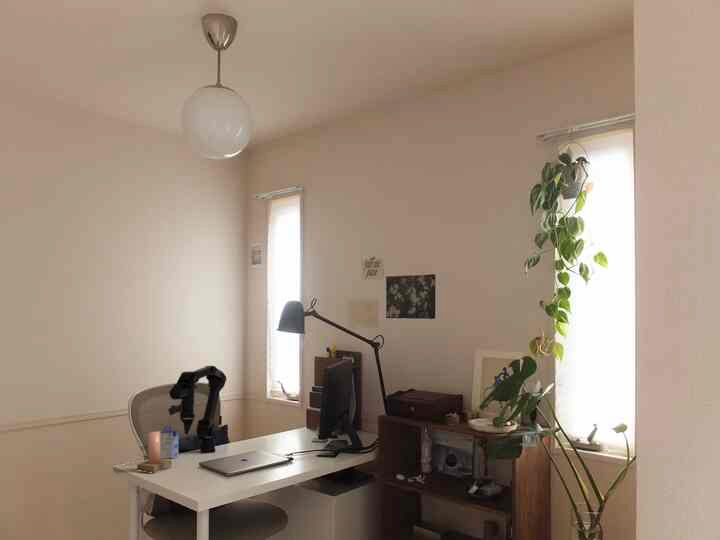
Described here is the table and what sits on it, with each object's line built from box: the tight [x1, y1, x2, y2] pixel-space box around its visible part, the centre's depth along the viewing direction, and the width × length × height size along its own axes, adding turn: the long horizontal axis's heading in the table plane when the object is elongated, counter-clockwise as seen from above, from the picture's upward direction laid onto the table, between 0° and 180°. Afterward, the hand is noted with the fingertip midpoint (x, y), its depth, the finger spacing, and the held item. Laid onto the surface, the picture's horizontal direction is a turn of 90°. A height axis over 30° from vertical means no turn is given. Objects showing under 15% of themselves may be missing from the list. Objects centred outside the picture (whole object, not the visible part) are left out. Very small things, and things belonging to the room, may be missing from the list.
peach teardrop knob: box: [147, 430, 162, 464], centre depth 245 cm, size 5×5×13 cm
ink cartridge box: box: [159, 425, 179, 459], centre depth 266 cm, size 10×6×14 cm, turn 79°
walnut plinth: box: [136, 458, 172, 474], centre depth 244 cm, size 10×10×3 cm
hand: (186, 433), depth 257 cm, fingers open, 9 cm apart
